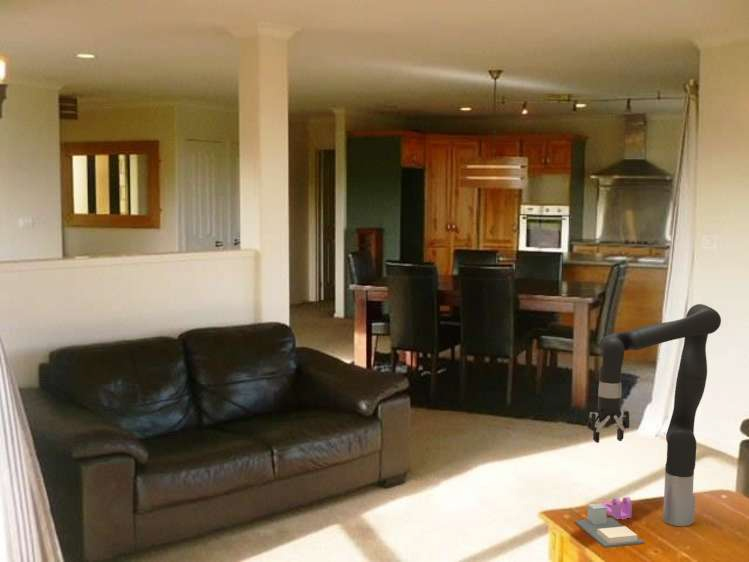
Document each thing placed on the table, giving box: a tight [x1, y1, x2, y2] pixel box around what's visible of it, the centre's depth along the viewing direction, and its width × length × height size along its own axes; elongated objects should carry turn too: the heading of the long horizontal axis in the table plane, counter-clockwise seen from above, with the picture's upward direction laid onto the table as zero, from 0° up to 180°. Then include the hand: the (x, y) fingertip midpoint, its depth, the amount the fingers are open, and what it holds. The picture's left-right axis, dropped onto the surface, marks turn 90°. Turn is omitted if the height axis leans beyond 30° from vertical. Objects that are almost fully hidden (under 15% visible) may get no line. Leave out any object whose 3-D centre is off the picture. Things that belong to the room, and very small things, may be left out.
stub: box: [587, 502, 608, 525], centre depth 291 cm, size 4×5×6 cm
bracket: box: [600, 496, 633, 521], centre depth 301 cm, size 13×6×7 cm, turn 17°
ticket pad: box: [574, 516, 645, 548], centre depth 284 cm, size 14×21×3 cm, turn 14°
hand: (608, 441), depth 291 cm, fingers open, 8 cm apart
